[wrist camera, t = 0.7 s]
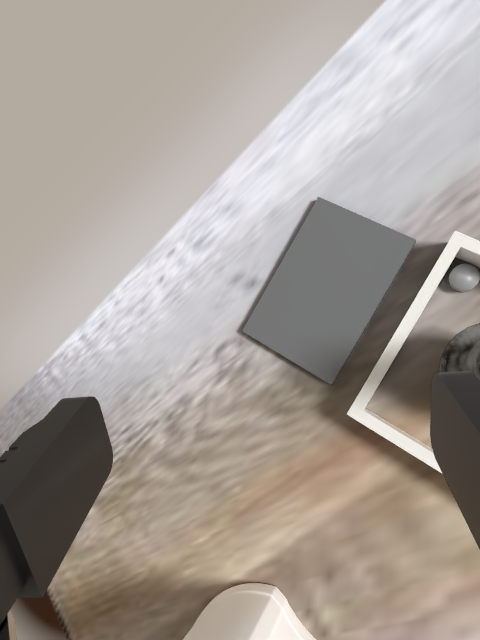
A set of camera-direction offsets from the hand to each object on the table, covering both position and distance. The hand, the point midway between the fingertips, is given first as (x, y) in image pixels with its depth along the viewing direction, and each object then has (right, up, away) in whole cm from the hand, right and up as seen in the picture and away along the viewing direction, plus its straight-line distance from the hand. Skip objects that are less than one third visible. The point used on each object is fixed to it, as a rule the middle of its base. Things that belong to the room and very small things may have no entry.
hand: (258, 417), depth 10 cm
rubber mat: (+6, +5, +22) cm, 24 cm away
